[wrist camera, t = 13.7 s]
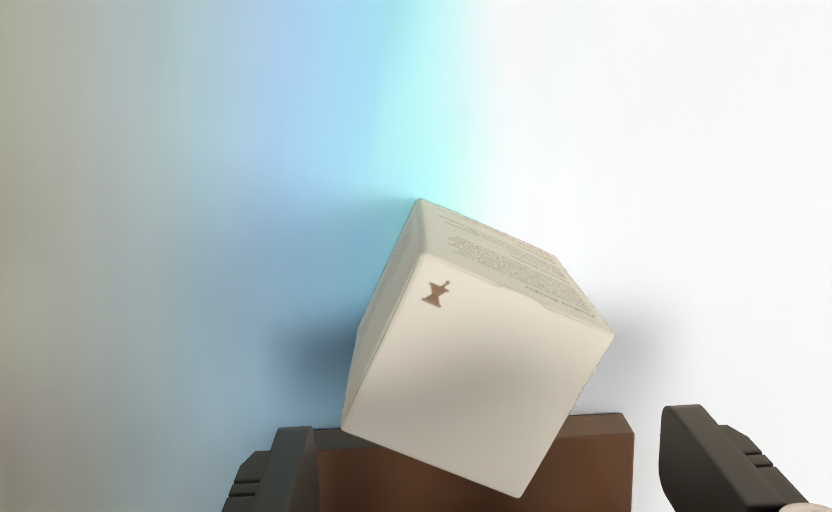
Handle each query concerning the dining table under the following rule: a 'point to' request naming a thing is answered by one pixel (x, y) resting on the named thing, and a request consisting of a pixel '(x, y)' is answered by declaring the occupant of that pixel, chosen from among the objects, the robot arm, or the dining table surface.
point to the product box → (471, 351)
